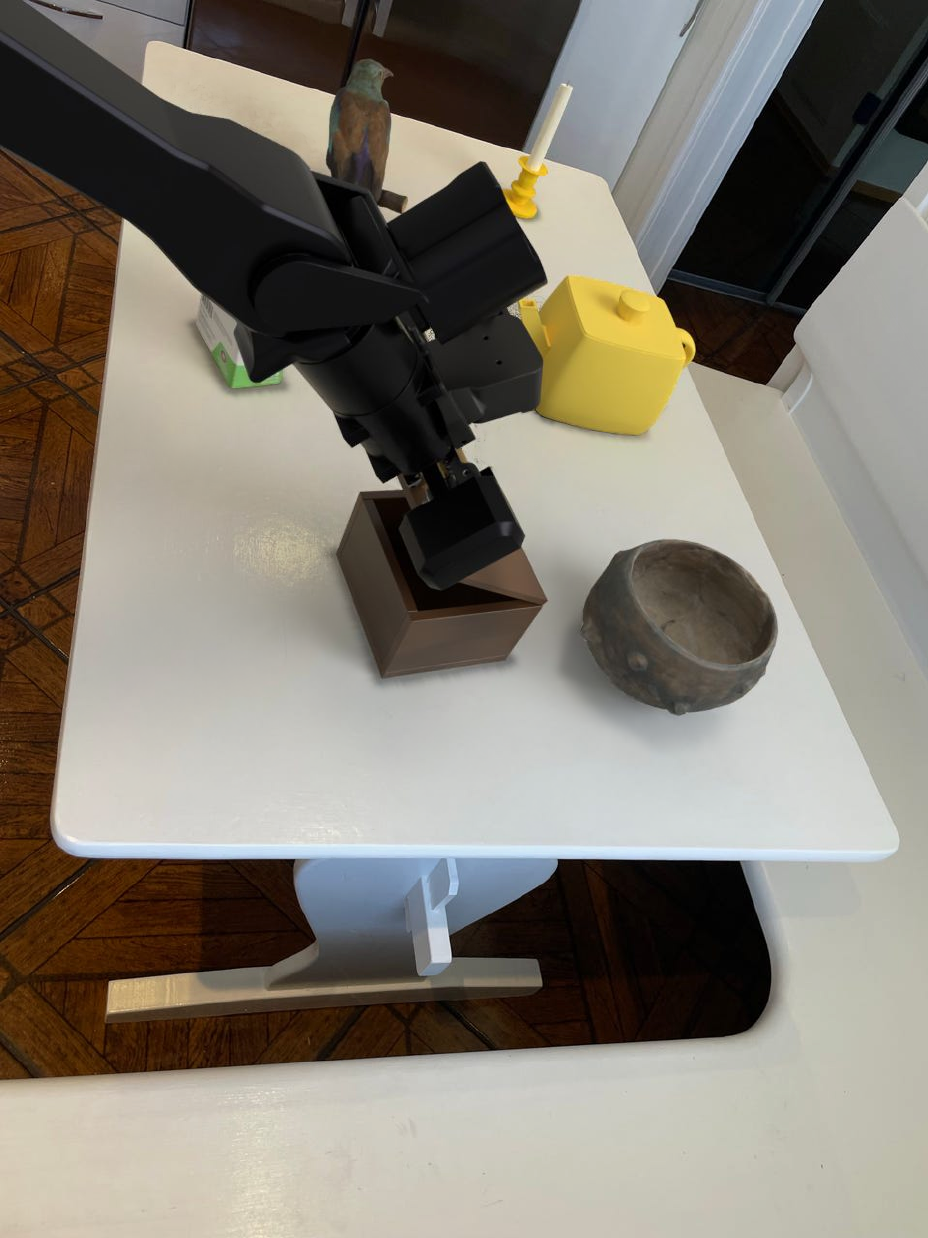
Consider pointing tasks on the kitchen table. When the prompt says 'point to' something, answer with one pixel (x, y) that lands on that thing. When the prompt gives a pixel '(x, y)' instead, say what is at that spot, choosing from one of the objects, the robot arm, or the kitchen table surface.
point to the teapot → (606, 355)
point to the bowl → (679, 626)
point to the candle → (536, 159)
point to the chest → (419, 599)
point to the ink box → (225, 345)
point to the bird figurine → (363, 134)
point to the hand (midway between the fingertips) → (466, 503)
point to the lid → (501, 575)
